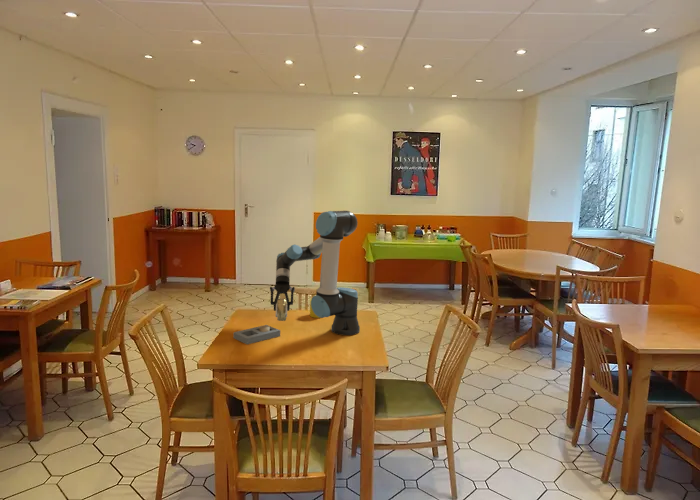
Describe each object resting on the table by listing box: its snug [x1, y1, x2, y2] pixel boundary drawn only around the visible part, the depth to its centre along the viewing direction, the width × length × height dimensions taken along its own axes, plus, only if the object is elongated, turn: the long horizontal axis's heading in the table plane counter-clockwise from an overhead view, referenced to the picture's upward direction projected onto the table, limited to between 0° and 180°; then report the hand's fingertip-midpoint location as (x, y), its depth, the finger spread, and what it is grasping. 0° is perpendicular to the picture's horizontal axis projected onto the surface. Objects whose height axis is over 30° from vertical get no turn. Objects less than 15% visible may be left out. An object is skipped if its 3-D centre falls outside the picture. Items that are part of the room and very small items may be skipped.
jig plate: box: [232, 324, 281, 345], centre depth 256 cm, size 12×20×3 cm, turn 135°
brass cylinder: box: [276, 298, 287, 322], centre depth 268 cm, size 4×4×11 cm
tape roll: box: [309, 298, 325, 319], centre depth 297 cm, size 10×10×9 cm
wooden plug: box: [258, 324, 270, 332], centre depth 259 cm, size 5×5×4 cm
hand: (281, 315), depth 264 cm, fingers closed on brass cylinder, 4 cm apart
